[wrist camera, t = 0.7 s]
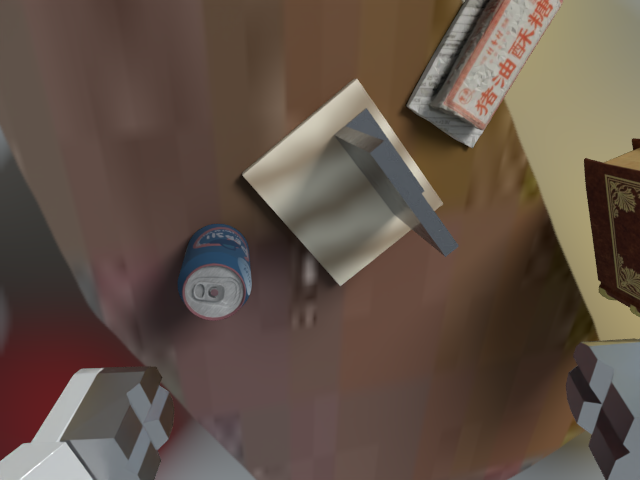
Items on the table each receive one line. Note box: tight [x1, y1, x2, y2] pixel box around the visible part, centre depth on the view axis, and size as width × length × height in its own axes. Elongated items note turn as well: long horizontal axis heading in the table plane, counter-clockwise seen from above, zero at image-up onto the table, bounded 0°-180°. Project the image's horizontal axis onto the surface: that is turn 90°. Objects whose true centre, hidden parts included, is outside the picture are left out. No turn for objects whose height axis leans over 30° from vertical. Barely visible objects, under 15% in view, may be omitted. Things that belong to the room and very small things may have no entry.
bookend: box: [334, 108, 458, 257], centre depth 44 cm, size 12×4×14 cm, turn 39°
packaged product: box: [406, 0, 563, 148], centre depth 48 cm, size 18×5×10 cm
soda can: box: [178, 224, 252, 321], centre depth 47 cm, size 7×7×12 cm
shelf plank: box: [242, 79, 443, 286], centre depth 52 cm, size 18×16×2 cm
